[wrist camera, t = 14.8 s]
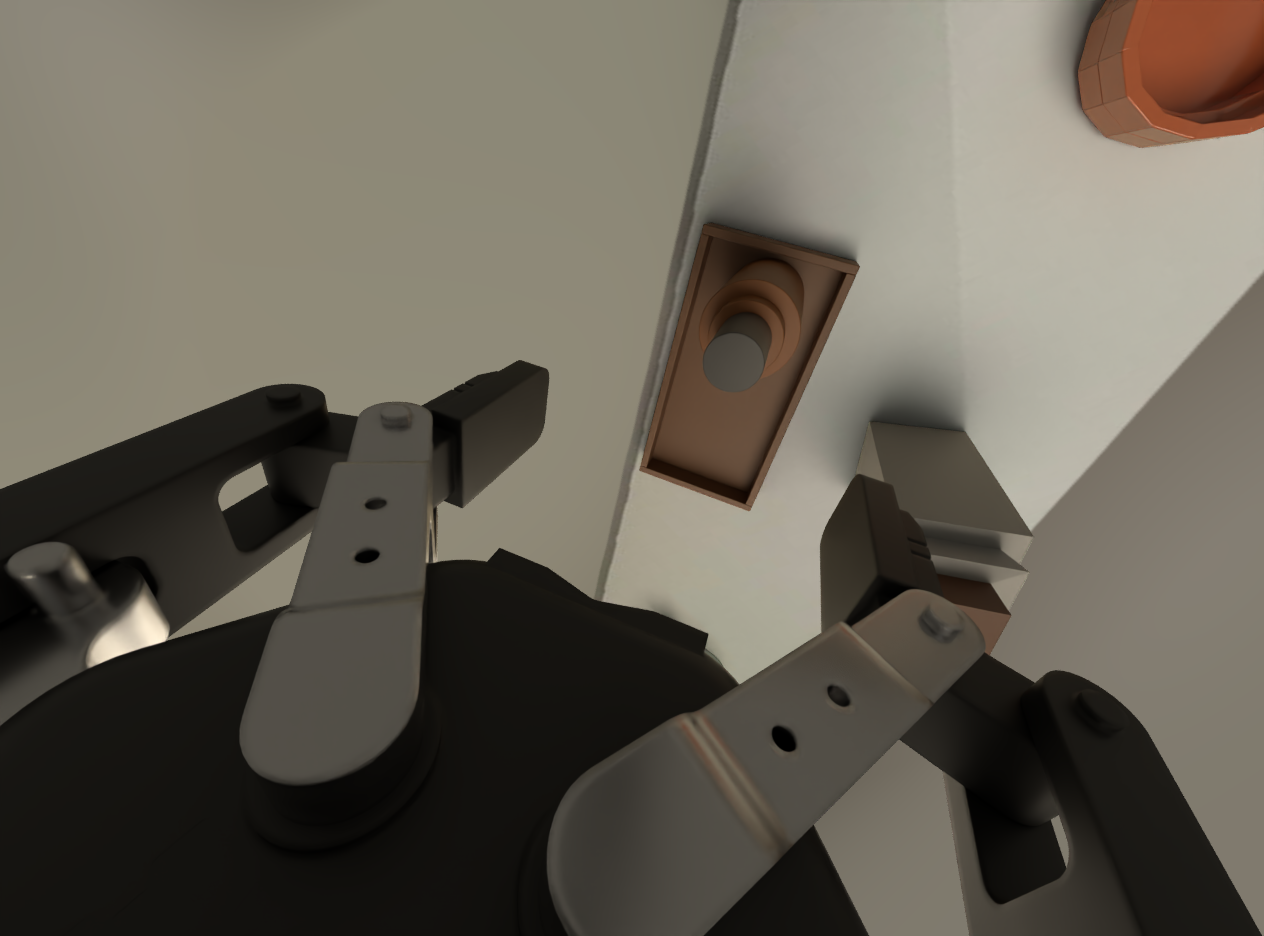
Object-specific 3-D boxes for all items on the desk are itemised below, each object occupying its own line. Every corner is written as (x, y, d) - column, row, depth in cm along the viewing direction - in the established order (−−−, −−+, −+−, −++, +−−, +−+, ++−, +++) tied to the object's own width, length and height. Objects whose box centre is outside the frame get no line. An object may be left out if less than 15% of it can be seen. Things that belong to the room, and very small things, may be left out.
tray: (710, 222, 34) (703, 223, 32) (857, 261, 33) (860, 266, 31) (647, 458, 46) (638, 470, 44) (752, 496, 44) (749, 511, 42)
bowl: (1060, -7, 24) (1110, -48, 20) (1351, -179, 20) (1493, -279, 16) (1086, 183, 27) (1135, 180, 23) (1345, 72, 23) (1462, 44, 18)
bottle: (716, 279, 36) (653, 331, 22) (789, 242, 33) (770, 275, 19) (743, 346, 37) (701, 434, 23) (814, 317, 35) (815, 396, 21)
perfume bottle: (850, 491, 41) (871, 657, 26) (869, 421, 38) (905, 565, 23) (937, 505, 39) (1013, 691, 24) (965, 432, 36) (1072, 597, 21)
